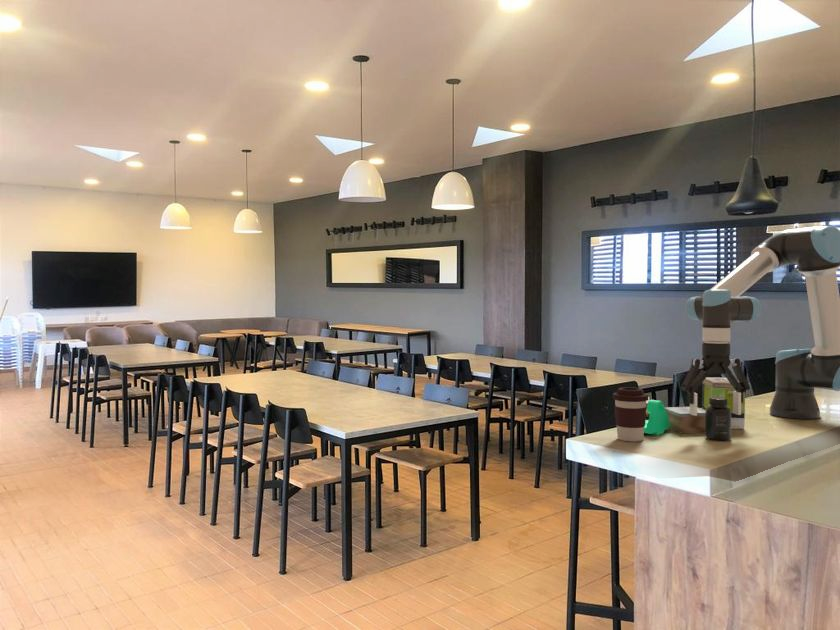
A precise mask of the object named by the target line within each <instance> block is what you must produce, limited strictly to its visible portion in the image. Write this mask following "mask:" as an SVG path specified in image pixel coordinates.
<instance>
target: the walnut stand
mask: <svg viewBox="0 0 840 630" xmlns="http://www.w3.org/2000/svg"><path fill="white" fill-rule="evenodd" d="M665 410H666V413H667V416H668V419H669V422H670V428H668V429H667V430H671V431H674V432H676V433H678V434H693V433H694V434H696V433H699V434H700V433H705V423H706V410H704V409H702V407H697V416H694V415H691V414H690V406H672V407H671V406H667V407H666V406H665Z"/></svg>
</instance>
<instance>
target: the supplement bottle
mask: <svg viewBox="0 0 840 630" xmlns="http://www.w3.org/2000/svg"><path fill="white" fill-rule="evenodd" d="M709 404H710V406H709V407H707V408H706V423H705V432H704V433H705V438H706V439H707V440H710V441H715V442H728V441H731V439H732V429H731V410H730V409H729V408H728V407H727V405H728V403H727V398H723V397H710V398H709Z"/></svg>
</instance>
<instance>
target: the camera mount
mask: <svg viewBox="0 0 840 630" xmlns="http://www.w3.org/2000/svg"><path fill="white" fill-rule="evenodd" d="M646 405H647V406H646V412H647V414H649V417H648V420H647V419H646V421H645V427H644V434H648V435H654V436H658V435H661V434H665V430H669V429H668V428H670V422H669V419H668V416H667V413H666V410H665V408H666V406H665V404H664V401H663V400H655V399H648V402H647V403H646Z"/></svg>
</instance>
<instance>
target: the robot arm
mask: <svg viewBox="0 0 840 630" xmlns="http://www.w3.org/2000/svg"><path fill="white" fill-rule="evenodd" d="M788 265H797V269H798V273H800V274H801V275H803V276H804V280H805V285H806V286H805V287H806V291H807V298H808V305H809V306H808V307H809V313H810V319H811V328H812V333H813V339H814V347H812V348H801V349H800V348H799V349H798V348H797V349H786V350H785V349H783V350H778V351H777V352H776V355H775V362H774V364H775V392H774V395H773V398H772V401H771V403H770V407H769V415H772V416H775V417H780V418H785V419H798V420H812V419H819V418H820V417H821V410H820V408H819V404H818V401H817V399H816V395H815V389H823V390H828V391H829V390H830V391H835V392H840V291H839V285H838V284H839V283H838V276H837V271H838V270H839V268H840V229H839V228H837V227H836V226H832V225H817V226H808V227H800V228H792V229H791V228H790V229H785V230H782V231H780V232H777V233H775V234H773V235H772V236H770V237H768V238H766V239H764V241H762V242H760V244H758V245H757V246H756V247H754V248H753V249H752V250H751V252H750V256H748V257H747V258H746V259H745V260H743V261H742V262H741V263H740V264H739V265H738V266H737V267H735V268H734V269H732V271H730V272H729V273H728V274H727V275H725V276H724V277H723V278H722V279H721V280H719V281H718V282H717V283H716V284H715V285H713V286H712V287H711V288H710V289H707V290H704V292H703V294H702V295H701V296H699V295H698V296H697V295H696V296H692V297H690V298H688V299H687V301H686V303H685V307H684V310H685V313H686V315H687V317H688V318H690V319H691V320H695V321H701V322H702V333H701V334H702V337H701V338H702V339H701V340H702V341H703V342H702V343H701V355H702V359H699V358H692V359H691V365H690V368H689V369H688V371H687V374H686V376H685V378H684V380H683V382H682V384H681V387H680V389H681V390H682V391H685V392H686V393H687V394H686V395H687V404H689V407H690V414H691V415H694V416H697V408H698V393H697V392H696V391H697V390H698V388H699V387H700V386H702V382H703V381H704V380H705V379H706V377H710V375H723V376H724V378H727V380H728V381H729V382H730V383H731V385H732V386H733V387H734V388H735V390H736V391H737V392H736V391H733V413H734V414H737V415H741V403H743V393H745V394H746V392H747V391H750V389H751V387H750V384H749V382H748V380H747V377H746V376H745V373H744V371H743V367H741V360H740V359H739V358H735V357H732V358H731V359H730V355H731V344H730V342H731V322H734V323H735V322H736V323H739V322H740V323H741V322H743V323H749V322H754V321H756V320H758V319H759V318H760V316H761V314H762V310H763V308H762V307H763V306H762V304H761V302H760V300H759V299H757V298H756V297H753V296H747V295H746V296H745V295H744V296H741V295H742V294H743V293H745V292H746V291H748V289H750V288H751V287H753V285H754V284H755V283H757V282H758V281H759V280H760V279H762V278H763V277H764V276H765V275H767V273H772V272H774V271H776V270H777V269H778V268H780V267H783V266H788ZM701 366H703V367H701ZM730 366H731V368H732V370H733V372H734V374H733V372H732V371H731V370H730V368H729V367H730ZM700 367H701V369H700ZM699 369H700V371H699ZM698 372H699V373H698ZM737 380H738V381H739V382H738V381H737Z"/></svg>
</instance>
